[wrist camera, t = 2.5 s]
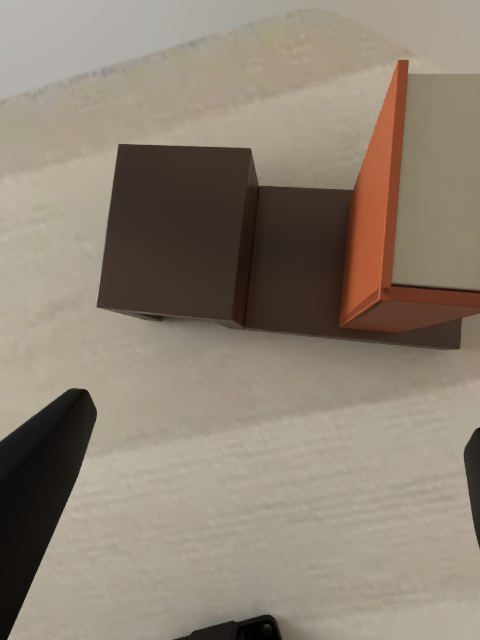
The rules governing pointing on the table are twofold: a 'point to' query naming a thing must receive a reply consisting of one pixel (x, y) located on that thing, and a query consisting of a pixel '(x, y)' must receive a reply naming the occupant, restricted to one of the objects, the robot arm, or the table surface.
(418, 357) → the table surface
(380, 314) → the book
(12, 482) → the robot arm
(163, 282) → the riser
